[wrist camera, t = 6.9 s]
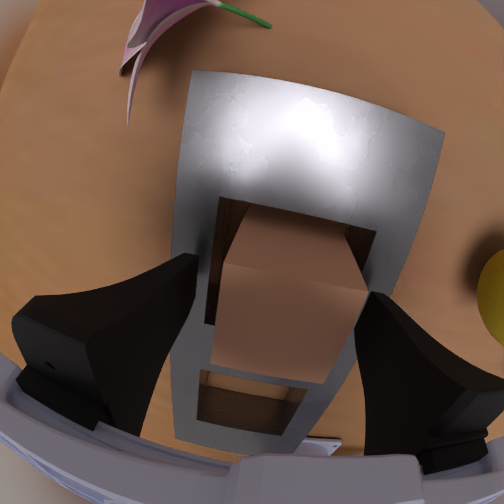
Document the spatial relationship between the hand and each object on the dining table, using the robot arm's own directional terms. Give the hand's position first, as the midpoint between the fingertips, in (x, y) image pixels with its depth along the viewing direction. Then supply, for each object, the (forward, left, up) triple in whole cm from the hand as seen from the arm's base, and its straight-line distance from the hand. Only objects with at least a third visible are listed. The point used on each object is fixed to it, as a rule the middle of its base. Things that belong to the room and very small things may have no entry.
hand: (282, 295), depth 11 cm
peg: (0, 0, -4) cm, 5 cm away
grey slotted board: (-5, 0, -4) cm, 7 cm away
